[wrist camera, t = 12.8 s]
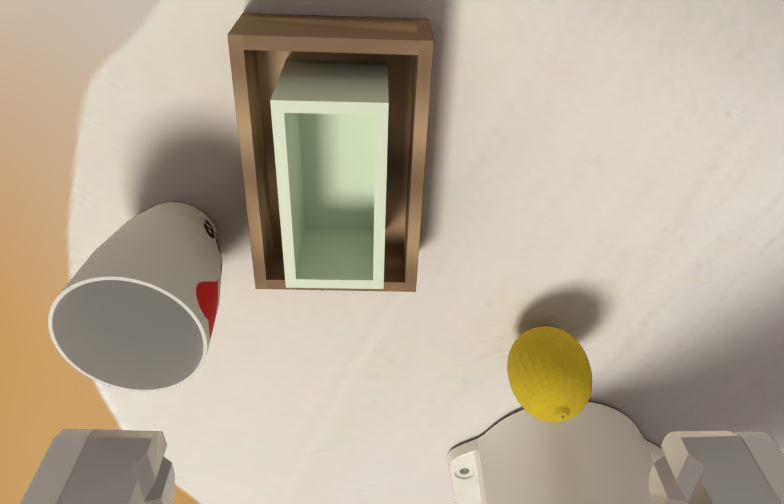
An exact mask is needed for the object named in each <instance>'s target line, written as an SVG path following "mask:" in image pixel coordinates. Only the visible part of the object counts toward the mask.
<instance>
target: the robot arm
mask: <svg viewBox="0 0 784 504" xmlns="http://www.w3.org/2000/svg"><path fill="white" fill-rule="evenodd" d="M166 447H167V443H166V440H165V437H164V434H163V432H162V431H131V430H96V429H95V430H93V429H63V430H62V431H61V432H60V433H59V434H58V435H57V436H56V437H55V438H54V439H53V441H52V443H51V445H50V447H49V449H48V451H47V453H46V454H45V456H44V458H43V460H42V462H41V464H40V466H39V468H38V470H37V472H36V474H35V476H34V477H33V479H32V481H31V483H30V485H29V487H28V489H27V491H26V493H25V495H24V497H23V499H22V500H21V502H20V504H173V500H174V492H175V473H174V469H173V465H172V462H170V461H169V460H168V459H166V458H165V457H164V453H165V450H166ZM661 447H662V449H660V448H659V447H657V446H655V445H654V444H652V443H650V442H648V441H646V440H645V439H644V438H643V436H642V435H641V433H640V432H639V430H638V428H637V427H636V425H635V424H634V423H633V422H632V421H631V420H630V419H629V418H628V417H627V416H625V415H624V414H622V413H621V412H619V411H617V410H615V409H613V408H610V407H608V406H605V405H601V404H597V403H592V402H588V404H587V405H586V407H585V408H584V409H583V410H582V412H581V413H579V414H578V415H577V416H575V417H574V418H572V419H570V420H567V421H564V422H558V423H552V422H546V421H542V420H540V419H537V418H535V417H533V416H532V415H531V414H529V413H528V412H527V411H526V410H525V409H524V410H521V411H519V412H517V413H514V414H512V415H510V416H509V417H507V418H505V419H503V420H502V421H500V422H499V423H497V424H496V425H495V426H493V427H492V428H491V429H490V430H489V431H487V432H486V433H485V434H484V435H482V436H481V437H479V438H478V439H475V440H472V441H470V442H467V443H465V444H462V445H460V446H458V447H456V448H454V449H452V450H451V451H450V452H449V454H448V462H449V468H450V473H451V479H452V485H453V491H454V497H455V502H456V504H784V455H783V453H782V452H781V450H780V449H779V447H778V445H777V444H776V442H775V441H774V439H773V438H772V437H771V436H770V435H769V434H767V433H766V432H761V431H734V432H730V431H671V432H670V433H669V434H667V435H666V436H665V438H664V440H663V442H662V445H661Z"/></svg>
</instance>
